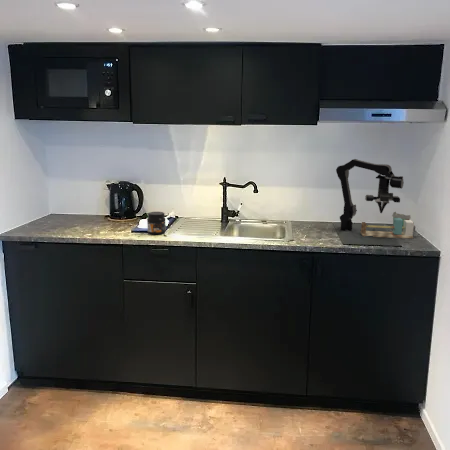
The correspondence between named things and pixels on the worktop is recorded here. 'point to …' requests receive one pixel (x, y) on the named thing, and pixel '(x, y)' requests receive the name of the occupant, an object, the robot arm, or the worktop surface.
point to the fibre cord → (382, 226)
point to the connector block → (408, 227)
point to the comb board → (381, 233)
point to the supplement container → (156, 223)
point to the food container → (403, 217)
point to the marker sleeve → (397, 226)
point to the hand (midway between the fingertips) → (381, 213)
